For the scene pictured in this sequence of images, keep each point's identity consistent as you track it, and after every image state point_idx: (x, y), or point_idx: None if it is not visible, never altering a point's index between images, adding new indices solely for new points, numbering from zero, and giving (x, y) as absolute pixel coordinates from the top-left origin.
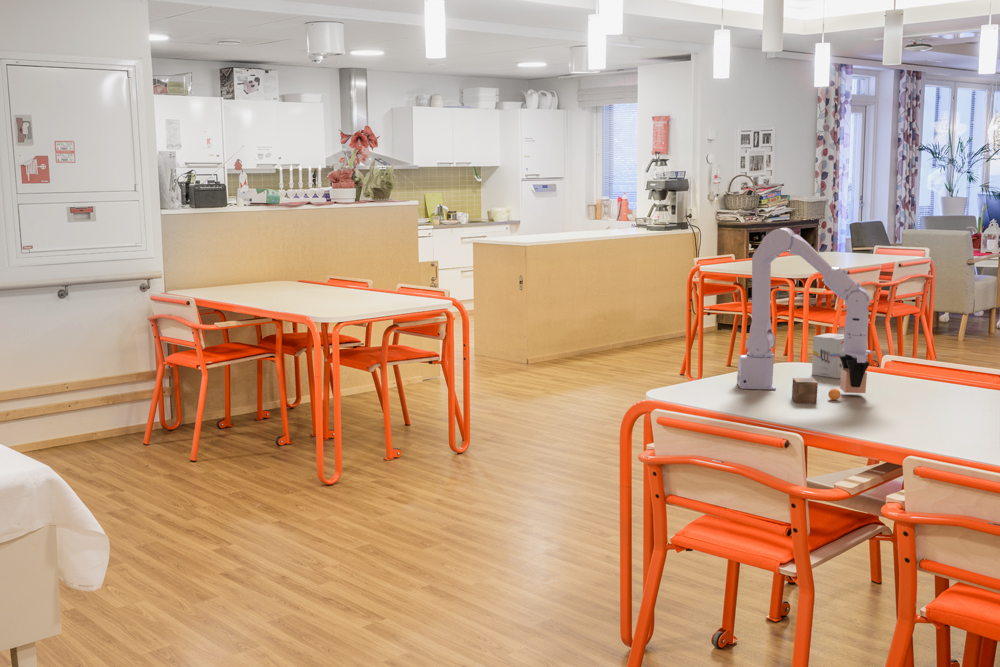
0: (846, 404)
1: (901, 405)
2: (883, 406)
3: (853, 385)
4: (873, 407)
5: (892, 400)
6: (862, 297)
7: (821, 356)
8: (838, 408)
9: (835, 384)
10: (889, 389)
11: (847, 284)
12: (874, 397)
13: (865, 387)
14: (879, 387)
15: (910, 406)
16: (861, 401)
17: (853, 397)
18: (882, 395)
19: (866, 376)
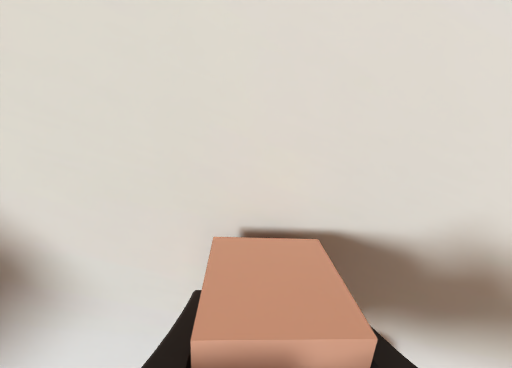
0: (415, 321)
1: (477, 104)
2: (475, 198)
3: None
4: (481, 243)
5: (367, 109)
6: None
7: None
8: (466, 355)
9: (3, 277)
10: (55, 2)
11: None
12: (296, 179)
13: (327, 258)
14: (4, 53)
15: (507, 62)
16: (373, 259)
17: None
18: (247, 120)
19: (359, 311)
